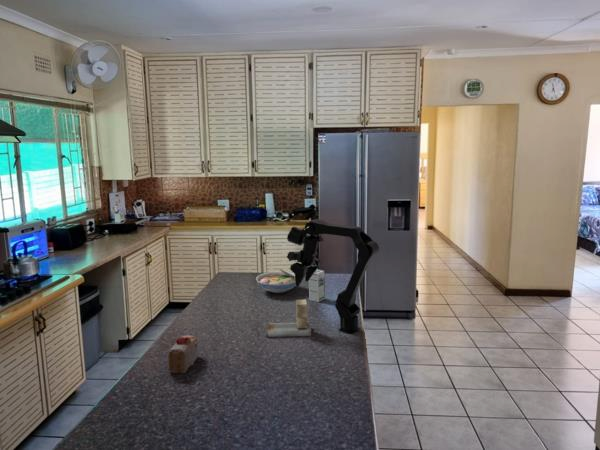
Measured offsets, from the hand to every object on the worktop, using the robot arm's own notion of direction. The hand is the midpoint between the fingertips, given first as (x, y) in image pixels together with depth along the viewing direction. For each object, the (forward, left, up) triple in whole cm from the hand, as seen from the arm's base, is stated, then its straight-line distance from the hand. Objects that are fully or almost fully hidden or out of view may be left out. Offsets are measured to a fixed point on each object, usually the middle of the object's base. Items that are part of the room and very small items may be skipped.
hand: (302, 283), depth 192 cm
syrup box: (+11, -26, -17) cm, 33 cm away
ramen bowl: (+35, -25, -17) cm, 46 cm away
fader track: (-2, +12, -17) cm, 21 cm away
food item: (+11, +54, -17) cm, 58 cm away
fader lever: (-6, +9, -15) cm, 19 cm away
